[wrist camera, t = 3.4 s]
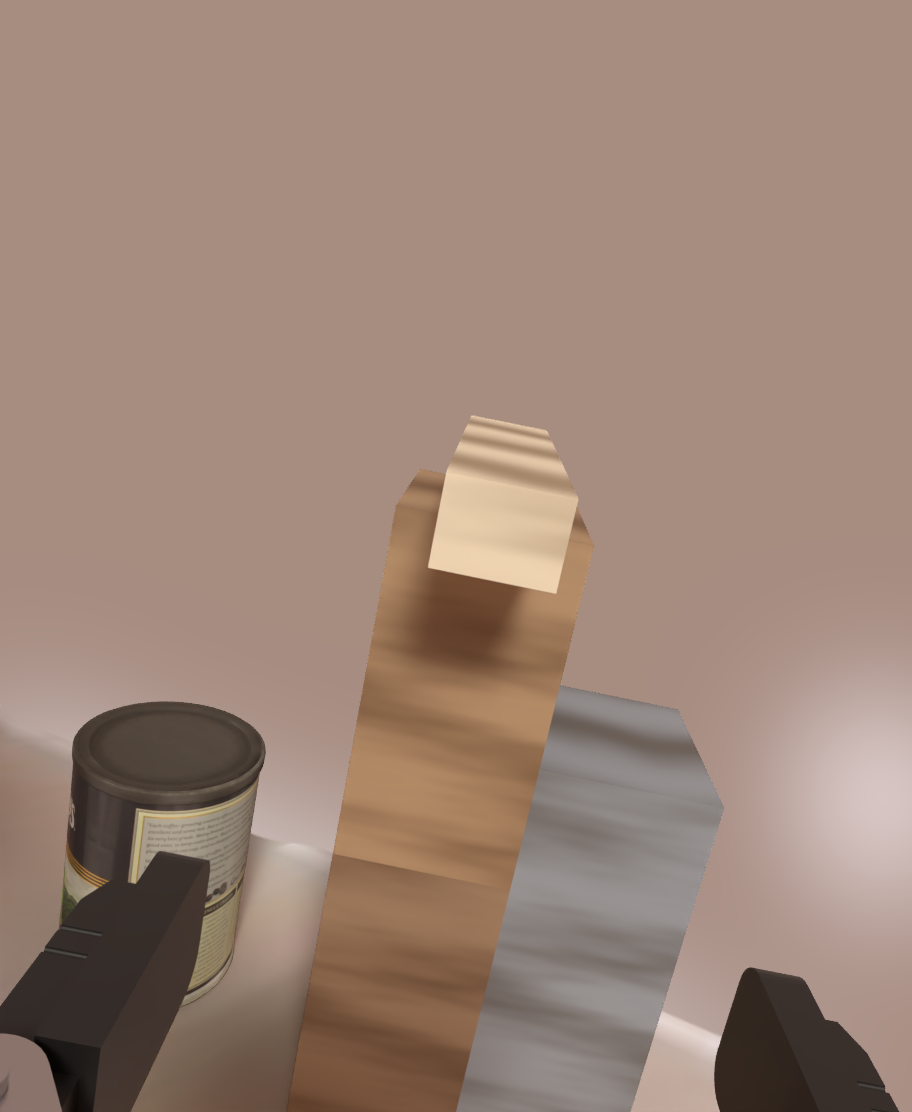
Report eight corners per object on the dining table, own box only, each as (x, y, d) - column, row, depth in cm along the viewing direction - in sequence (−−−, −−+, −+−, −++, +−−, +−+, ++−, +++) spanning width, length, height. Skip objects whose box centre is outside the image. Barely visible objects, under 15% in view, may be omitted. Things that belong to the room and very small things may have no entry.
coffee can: (18, 999, 46) (36, 770, 43) (99, 882, 56) (119, 687, 53) (205, 1033, 47) (238, 807, 43) (253, 910, 57) (283, 718, 53)
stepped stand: (324, 985, 52) (420, 469, 44) (584, 1039, 51) (728, 531, 43) (282, 1135, 42) (396, 505, 34) (602, 1201, 42) (792, 586, 34)
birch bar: (460, 471, 45) (471, 415, 45) (534, 485, 45) (546, 430, 45) (427, 567, 26) (446, 472, 25) (555, 593, 26) (578, 498, 25)
